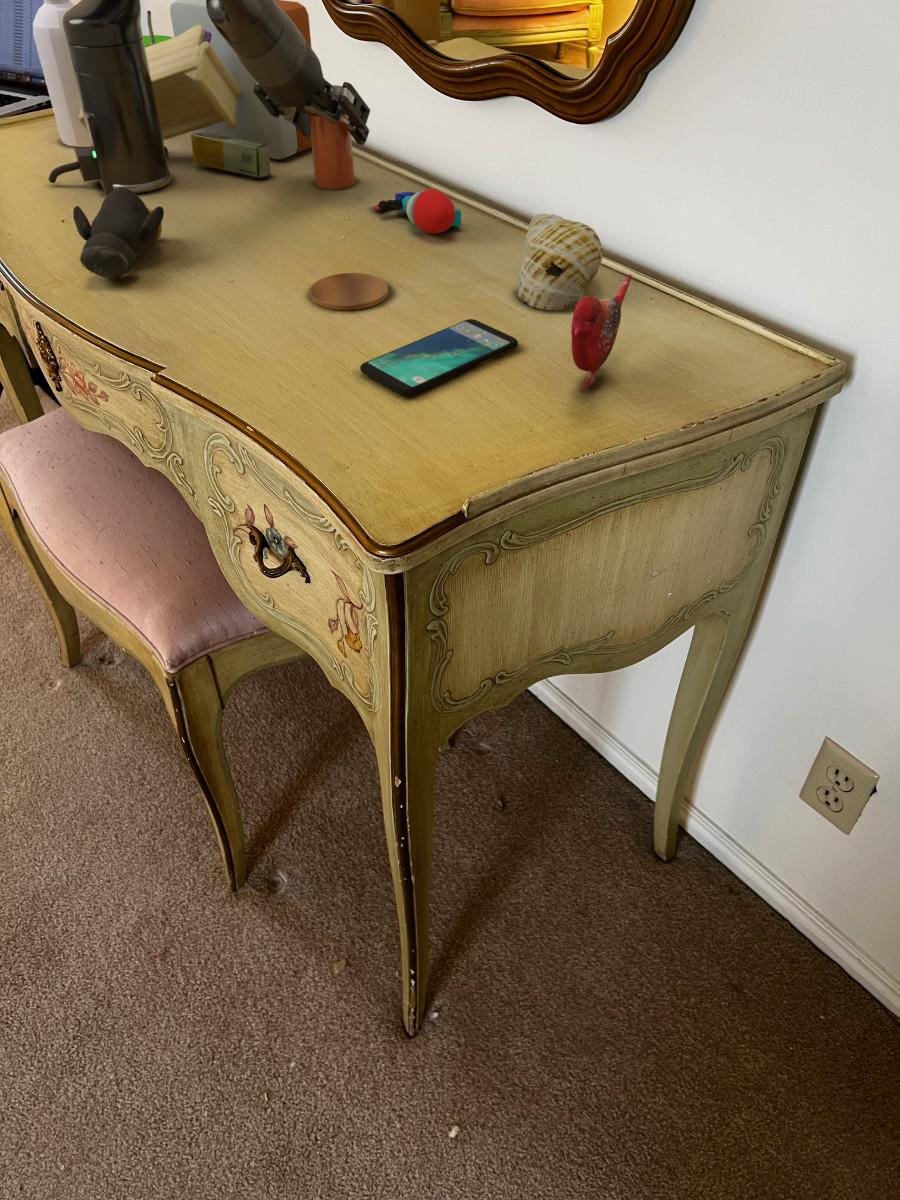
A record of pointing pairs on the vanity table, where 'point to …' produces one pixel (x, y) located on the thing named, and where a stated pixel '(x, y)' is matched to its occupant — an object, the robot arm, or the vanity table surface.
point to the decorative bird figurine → (595, 331)
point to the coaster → (349, 291)
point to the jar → (331, 153)
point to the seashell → (557, 262)
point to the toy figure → (425, 209)
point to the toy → (117, 233)
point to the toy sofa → (190, 84)
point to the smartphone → (438, 356)
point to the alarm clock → (246, 82)
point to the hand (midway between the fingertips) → (336, 134)
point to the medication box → (231, 154)
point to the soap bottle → (59, 71)
